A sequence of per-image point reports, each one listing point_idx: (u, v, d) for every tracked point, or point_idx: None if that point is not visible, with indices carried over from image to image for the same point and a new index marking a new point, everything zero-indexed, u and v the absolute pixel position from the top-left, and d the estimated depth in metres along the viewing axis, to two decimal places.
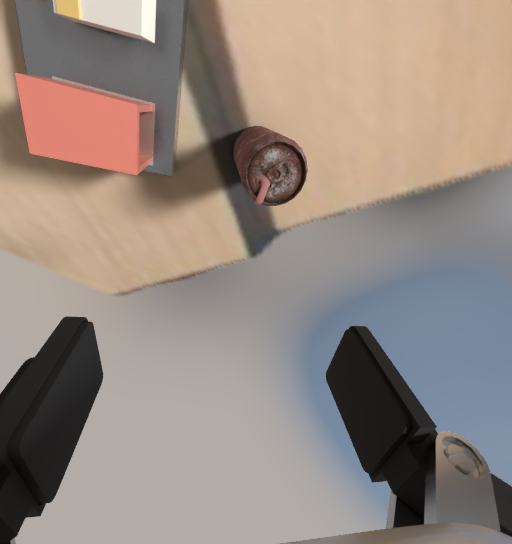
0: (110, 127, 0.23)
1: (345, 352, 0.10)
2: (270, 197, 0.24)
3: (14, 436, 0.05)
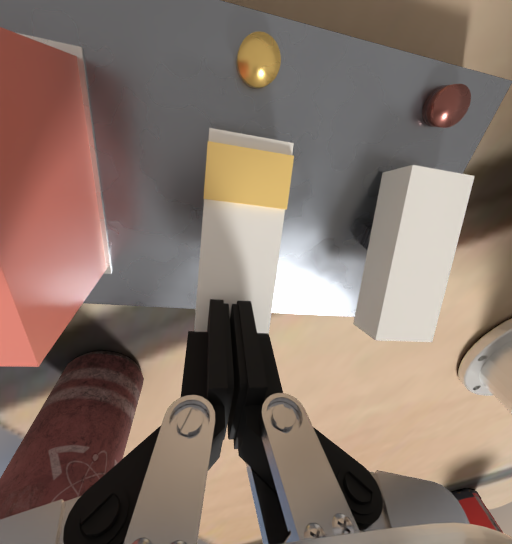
0: None
1: (230, 326, 0.10)
2: None
3: (228, 379, 0.07)
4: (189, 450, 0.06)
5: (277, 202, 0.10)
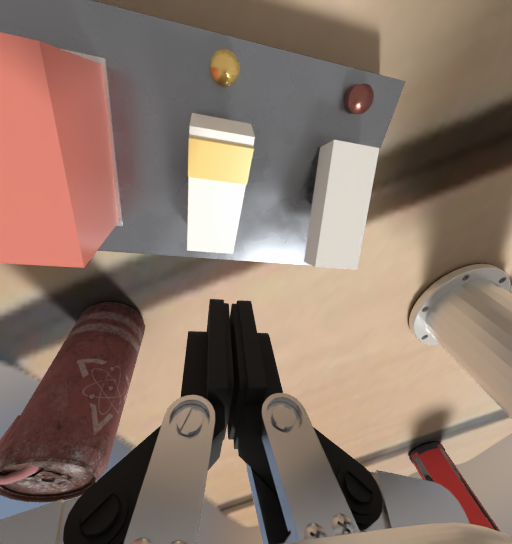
0: (18, 222, 0.12)
1: (230, 326, 0.10)
2: None
3: (228, 379, 0.07)
4: (189, 450, 0.06)
5: (240, 180, 0.15)
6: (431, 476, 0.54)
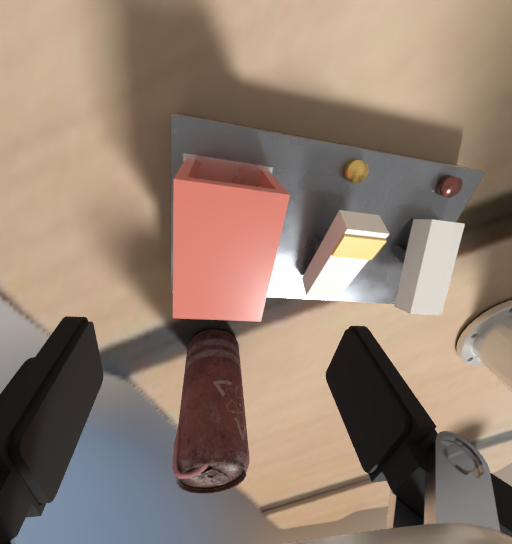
0: (232, 294, 0.17)
1: (345, 352, 0.10)
2: None
3: (15, 435, 0.05)
4: None
5: (368, 257, 0.20)
6: None
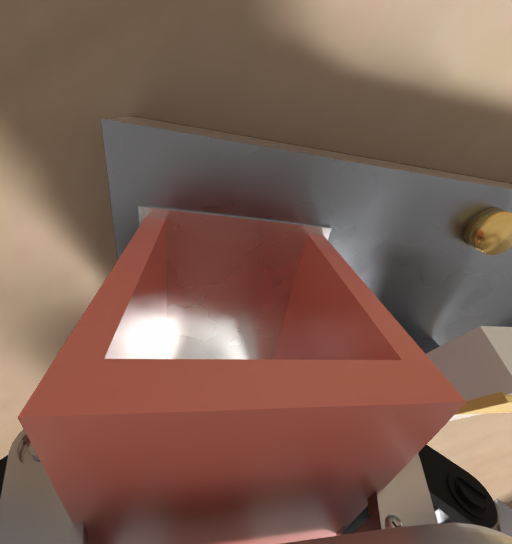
0: None
1: None
2: None
3: None
4: None
5: None
6: None
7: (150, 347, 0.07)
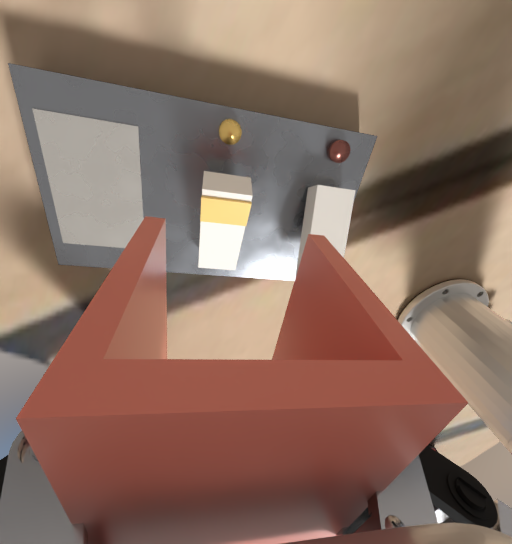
0: None
1: None
2: None
3: None
4: None
5: (240, 223, 0.18)
6: None
7: (150, 347, 0.07)
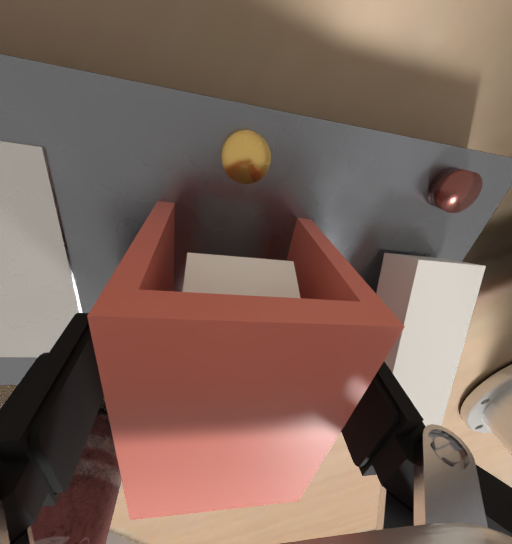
0: (248, 481, 0.08)
1: None
2: None
3: (33, 426, 0.05)
4: None
5: None
6: None
7: None
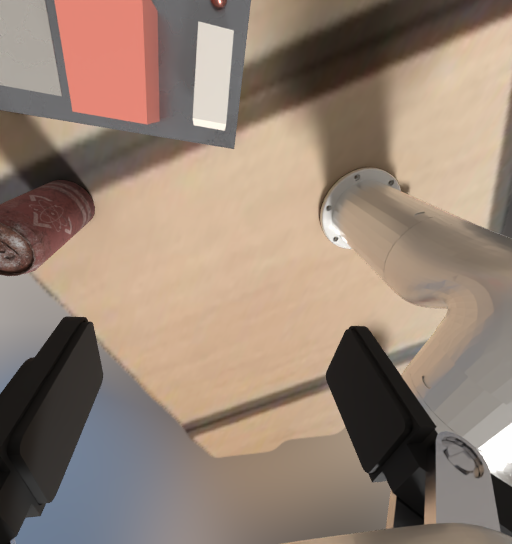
0: (116, 89, 0.22)
1: (345, 352, 0.10)
2: None
3: (14, 436, 0.05)
4: None
5: None
6: None
7: None
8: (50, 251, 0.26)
